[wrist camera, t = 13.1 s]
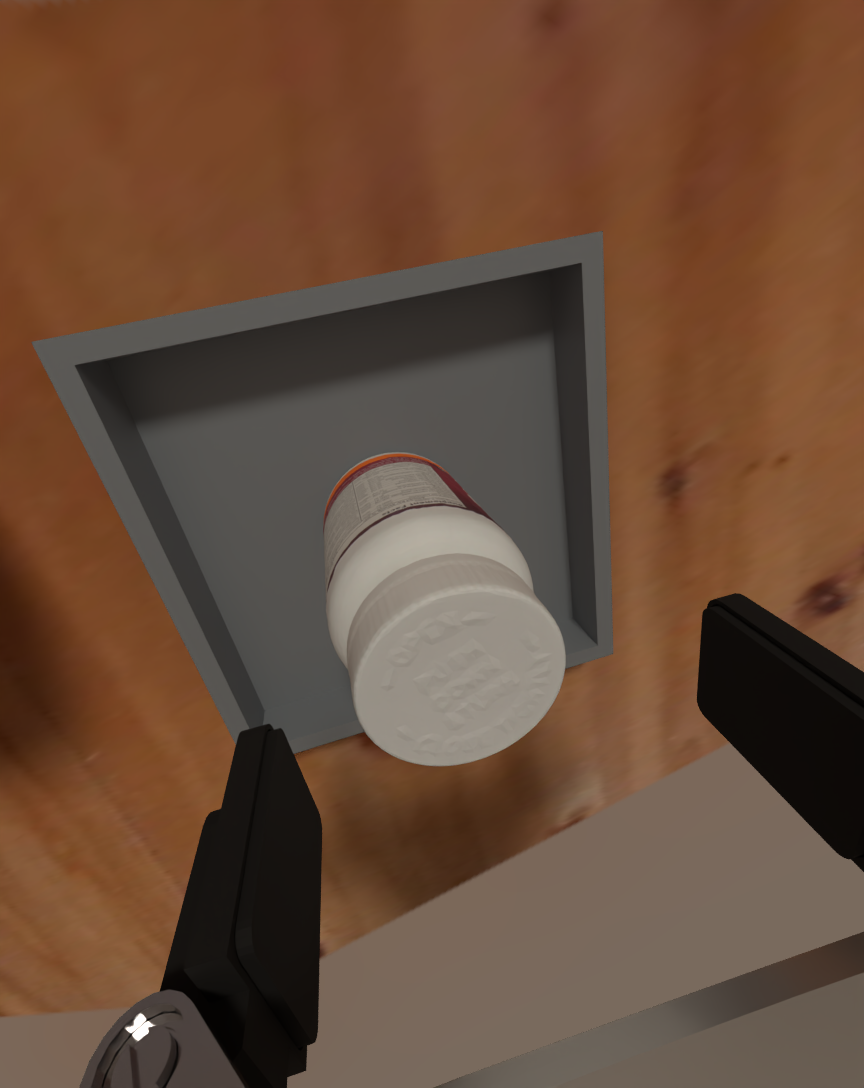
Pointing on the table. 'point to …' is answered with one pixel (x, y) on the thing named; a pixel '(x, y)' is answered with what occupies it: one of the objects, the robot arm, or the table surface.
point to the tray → (348, 452)
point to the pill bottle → (434, 615)
